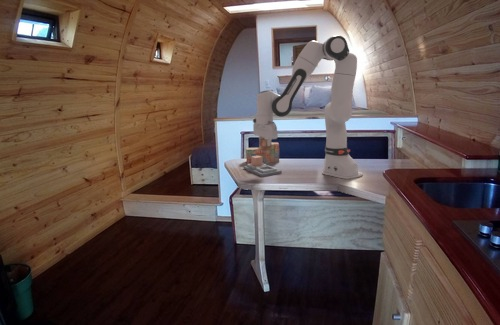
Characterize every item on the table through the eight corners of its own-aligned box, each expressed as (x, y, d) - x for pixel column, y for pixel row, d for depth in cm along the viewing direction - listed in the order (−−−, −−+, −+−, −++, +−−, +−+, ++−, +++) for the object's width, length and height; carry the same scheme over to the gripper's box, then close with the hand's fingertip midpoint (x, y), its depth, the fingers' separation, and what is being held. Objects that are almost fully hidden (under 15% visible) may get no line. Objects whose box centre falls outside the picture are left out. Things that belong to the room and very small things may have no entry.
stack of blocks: (246, 163, 204) (246, 145, 201) (246, 161, 210) (245, 143, 207) (279, 162, 204) (279, 143, 201) (278, 160, 210) (278, 141, 207)
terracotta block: (271, 149, 176) (271, 139, 175) (263, 150, 174) (263, 140, 172) (266, 148, 180) (266, 138, 179) (259, 149, 178) (259, 138, 177)
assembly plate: (281, 173, 178) (281, 160, 176) (262, 176, 172) (261, 163, 170) (261, 165, 197) (261, 153, 195) (243, 168, 191) (242, 156, 189)
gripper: (280, 121, 166) (280, 147, 169) (260, 118, 183) (261, 141, 187) (270, 122, 163) (270, 148, 166) (251, 119, 180) (251, 143, 184)
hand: (265, 145), depth 177 cm, fingers closed on terracotta block, 5 cm apart
